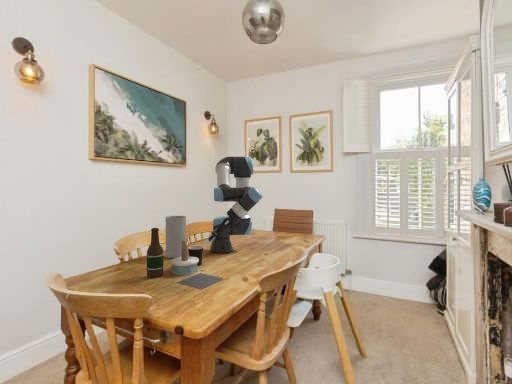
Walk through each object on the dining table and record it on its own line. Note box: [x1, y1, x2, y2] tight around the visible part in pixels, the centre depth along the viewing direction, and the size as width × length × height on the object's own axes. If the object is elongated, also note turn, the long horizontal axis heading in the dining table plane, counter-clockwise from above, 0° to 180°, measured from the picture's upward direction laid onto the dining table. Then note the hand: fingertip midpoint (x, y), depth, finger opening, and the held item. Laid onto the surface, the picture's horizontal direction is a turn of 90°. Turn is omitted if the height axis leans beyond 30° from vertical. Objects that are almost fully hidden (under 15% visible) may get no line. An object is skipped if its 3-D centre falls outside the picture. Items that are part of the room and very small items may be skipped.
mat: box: [175, 272, 225, 291], centre depth 129 cm, size 16×16×1 cm
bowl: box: [171, 264, 198, 276], centre depth 143 cm, size 12×12×5 cm
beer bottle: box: [146, 227, 165, 280], centre depth 135 cm, size 8×8×24 cm
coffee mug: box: [188, 245, 204, 267], centre depth 156 cm, size 12×9×10 cm
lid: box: [170, 240, 199, 266], centre depth 142 cm, size 14×14×11 cm
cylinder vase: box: [165, 215, 187, 259], centre depth 173 cm, size 12×12×25 cm
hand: (207, 241), depth 140 cm, fingers open, 13 cm apart
